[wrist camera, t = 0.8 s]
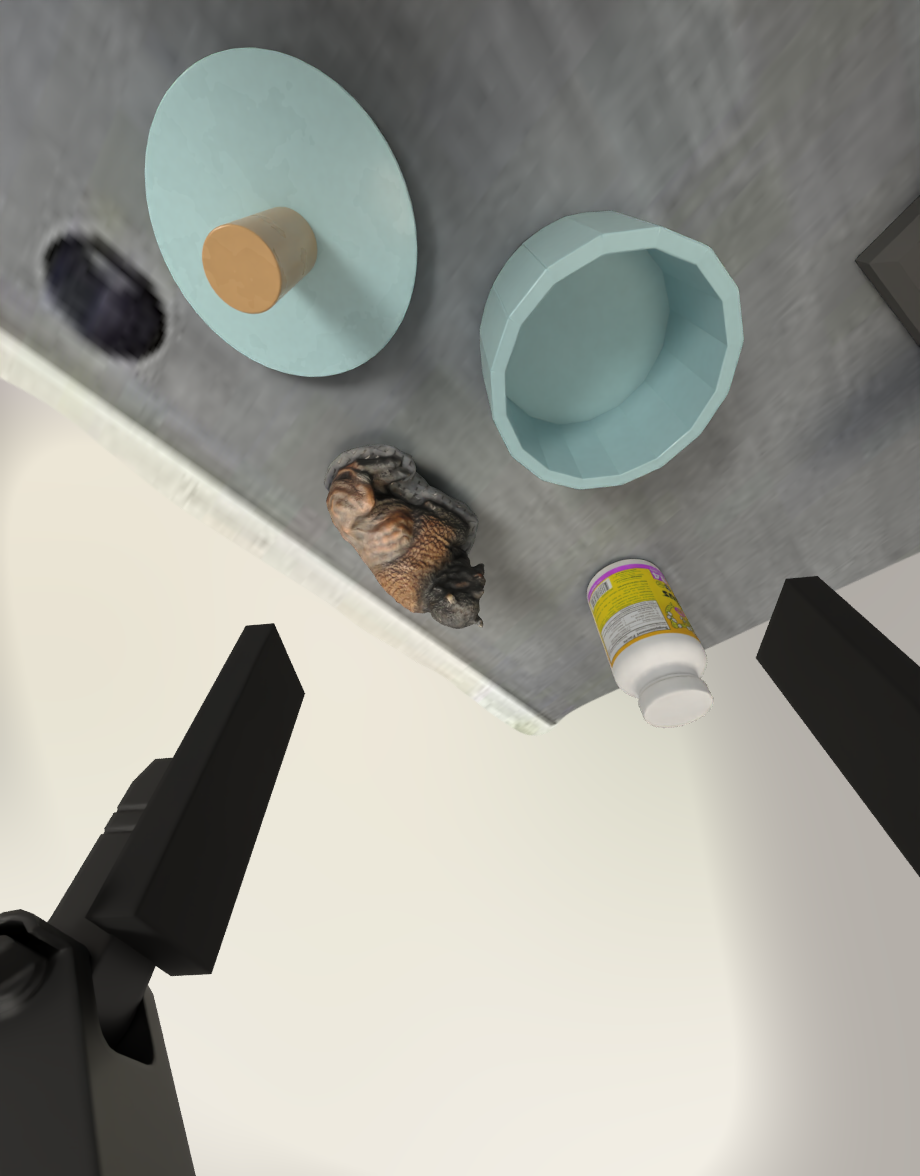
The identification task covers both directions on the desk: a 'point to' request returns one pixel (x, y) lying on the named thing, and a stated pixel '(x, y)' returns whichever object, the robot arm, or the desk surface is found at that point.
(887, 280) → the faucet
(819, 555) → the desk surface
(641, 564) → the supplement bottle
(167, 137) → the lid
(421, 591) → the brown striped lumpy figure
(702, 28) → the desk surface
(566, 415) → the bowl
